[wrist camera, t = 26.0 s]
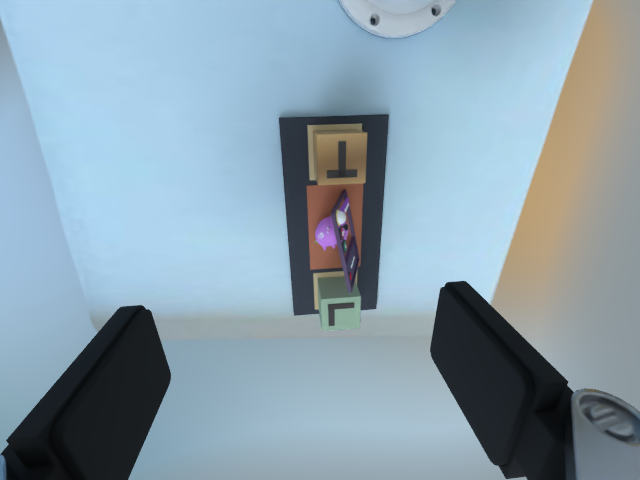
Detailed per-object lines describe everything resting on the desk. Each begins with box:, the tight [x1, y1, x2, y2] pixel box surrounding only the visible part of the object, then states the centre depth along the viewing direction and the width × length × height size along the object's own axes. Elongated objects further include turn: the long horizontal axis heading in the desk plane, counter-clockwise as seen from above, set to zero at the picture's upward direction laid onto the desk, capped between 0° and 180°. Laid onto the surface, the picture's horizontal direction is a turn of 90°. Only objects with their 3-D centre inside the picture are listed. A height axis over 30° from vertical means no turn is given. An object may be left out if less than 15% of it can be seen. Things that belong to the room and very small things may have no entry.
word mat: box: [279, 115, 389, 315], centre depth 34 cm, size 24×11×1 cm, turn 2°
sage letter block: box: [318, 276, 361, 331], centre depth 36 cm, size 4×4×5 cm
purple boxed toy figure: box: [315, 189, 360, 293], centre depth 32 cm, size 7×5×9 cm
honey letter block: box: [313, 129, 367, 185], centre depth 29 cm, size 4×4×5 cm
